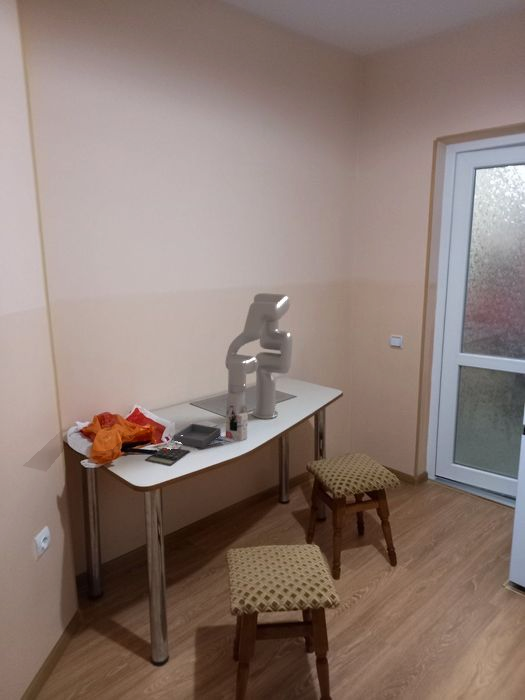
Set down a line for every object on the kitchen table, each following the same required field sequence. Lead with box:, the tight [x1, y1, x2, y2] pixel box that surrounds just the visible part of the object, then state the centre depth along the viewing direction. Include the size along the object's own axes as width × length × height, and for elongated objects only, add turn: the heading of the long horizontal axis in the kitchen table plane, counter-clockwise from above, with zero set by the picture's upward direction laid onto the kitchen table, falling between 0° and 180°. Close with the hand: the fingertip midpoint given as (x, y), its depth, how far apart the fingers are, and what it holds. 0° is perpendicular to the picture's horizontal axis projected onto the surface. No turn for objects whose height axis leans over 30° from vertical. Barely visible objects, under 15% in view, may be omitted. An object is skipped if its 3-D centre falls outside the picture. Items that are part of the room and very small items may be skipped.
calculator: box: [144, 447, 191, 467], centre depth 199 cm, size 12×1×15 cm
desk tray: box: [172, 423, 222, 450], centre depth 216 cm, size 16×14×4 cm
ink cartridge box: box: [225, 404, 249, 442], centre depth 218 cm, size 9×5×15 cm, turn 58°
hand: (236, 427), depth 219 cm, fingers closed on ink cartridge box, 5 cm apart
